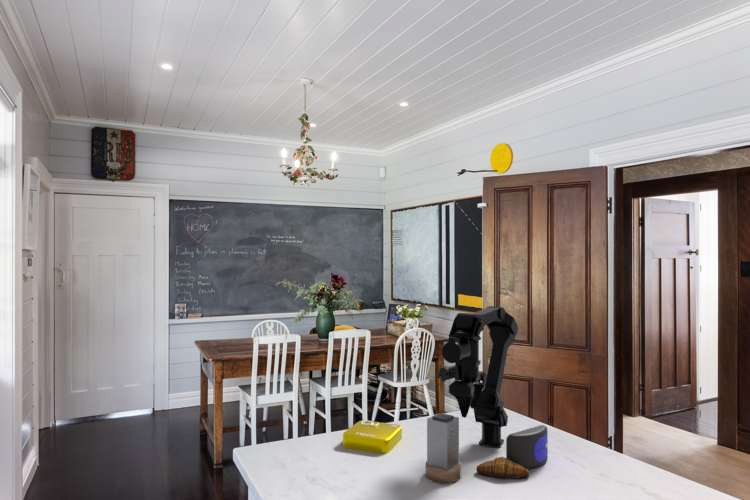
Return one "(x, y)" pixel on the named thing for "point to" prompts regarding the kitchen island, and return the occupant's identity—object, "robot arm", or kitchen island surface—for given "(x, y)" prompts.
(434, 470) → the walnut stand
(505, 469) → the croissant
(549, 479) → the kitchen island surface
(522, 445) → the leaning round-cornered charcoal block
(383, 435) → the element tile
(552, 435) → the kitchen island surface
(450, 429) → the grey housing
